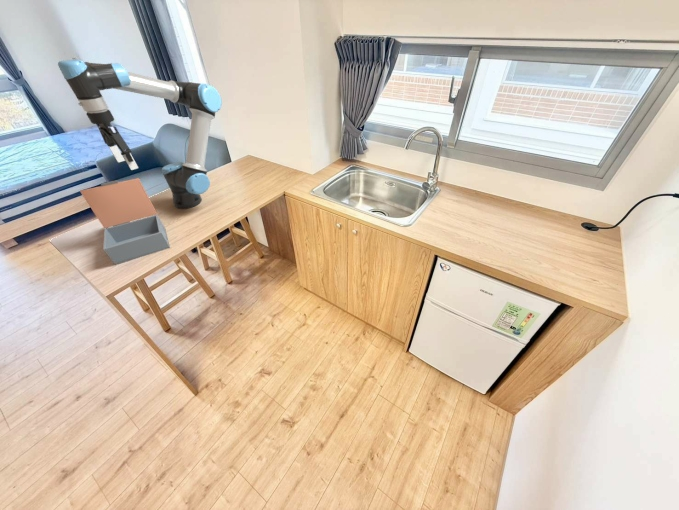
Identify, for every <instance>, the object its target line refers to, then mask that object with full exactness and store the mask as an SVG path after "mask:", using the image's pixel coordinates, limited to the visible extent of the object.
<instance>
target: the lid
mask: <svg viewBox="0 0 679 510" xmlns="http://www.w3.org/2000/svg"><path fill="white" fill-rule="evenodd" d="M79 192H80V193H81V195H82V197H83V198H84V200H85V202H86V203H87V205H88V206H89V207H90V208H91V210H92V212H93V214H94V215H95V216H96V218H97V219H98V221H99V223H100V224H101V226H102V227H103V228H104V229H106V228H109V227H113V226H115V225H119V224H123V223H126V222H132V221H135V220H139V219H143V218H147V217H150V216H154V215H158V213H157V210H156V209H155V206H154V205H153V203H152V201H151V199H150V197H149V195H148V193H147V191H146V190H145V188H144V186H143V184H142V182H141V179H140V178H133V179H129V180H124V181H123V180H122V181H118V180H112V181H107V182H103V183H100V186H96V187H90V188H86V189H81V190H80V191H79Z"/></svg>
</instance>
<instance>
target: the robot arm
mask: <svg viewBox="0 0 679 510" xmlns="http://www.w3.org/2000/svg"><path fill="white" fill-rule="evenodd" d="M57 66H58V68H59V70H60V72H61V74H62V76H63V78H64V80H65V81H66V83H67V84H68V85H69V88H70V89H71V91H72V92H73V94H74V95H75V98H76V99H77V101H78V103H77V105H78V106H81V107H82V109H83V111H84V112H86V116H87V118H88V119H89V121H90V123H92V124H93V125H96V126H97V128H98V130H99V133H100V135H101V138H102V139H103V141H104V144H105V145H106V146H107V147H108V148H109V149H110V151H111V153H112V154H113V157H114V158H115V159H116V162H117V163H121V162H126V164H127V165H128V167H129V169H130V170H131V171H133V170H137V169H139V166H138V164H137V162H136V161H135V159H134V157H133V156H132V150H131V149H130V147H129V146H128V144H127V143H126V141H125V139H124V137H123V136H122V134H120V132H119V130H118V129H117V127H116V126H115V125H114V126H113V125H112V124H111V123H113V122H114V121H115V118H114V116H113V114H112V111H111V110H110V109H109V106H108V104H107V102H106V100H105V98H104V97H103V94H102V93H101V91H104V90H112V89H114V90H118V91H119V90H120V91H124V92H130V93H134V94H140V95H145V96H149V97H155V98H160V99H165V100H169V101H170V102H171V103H174V104H179V105H183V106H186V107H188V108H189V111H190V113H191V122H190V130H189V136H188V137H189V138H188V143H187V144H188V145H187V152H186V153H187V154H186V159H185V162H182V161H181V162H180V161H179V162H178V161H177V162H173V163H169V164H166V165H164V166H163V167H162V168H161V172H162V175H163V177H164V179H165V181H166V183H167V185H168V188H169V189H170V191H171V194H172V195H171V196H172V203H173V206H174V207H175V208H176V209H181V210H182V209H183V210H186V209H190V208H194V207H196V206H198V205H199V204H201V203H202V201H203V199H202V196H201V195H203V194H204V193H206V192H207V191H208V190H209V189H210V187H211V186H210V185H211V179H209V176H208V175H207V174H208V169H206V167H205V164H206V158H207V150H208V146H209V145H208V144H209V143H208V142H209V135H210V129H211V124H212V123H211V122H212V120H213V119H215V117H216V113H217V112H219V111H220V110H221V108H222V104H223V103H222V97H221V95H220V93H219V91H218V90H217V89H216V88H215V86H212V85H210V84H206V83H198V82H197V83H196V82H192V81H190V82H189V81H175V80H168V81H166V80H163V79H158V78H154V77H149V76H147V75H146V76H145V75H143V74H142V75H141V74H137V73H134V72H129V71H127V69H126V68H125V66H123V65H122V64H121V63H118V62H114V63H113V62H110V63H99V62H98V63H95V62H89V61H83V60H82V59H65V60H61V61H60V60H59V61H58V63H57Z"/></svg>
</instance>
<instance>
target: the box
mask: <svg viewBox="0 0 679 510" xmlns="http://www.w3.org/2000/svg"><path fill="white" fill-rule="evenodd" d="M103 234H104V235H103V251H104V252H105V254H106V255H107V256H108V258H110V260H111V262H113V264H114V265H115V266H116V265H119V264H123V263H125V262H130V261H133V260H136V259H140V258H142V257H145V256H148V255H151V254H155V253H157V252H158V253H159V252H160V251H164V250H168V249H170V248H171V245H170V243H169V239H168V234H167V231H166V228H165V225H164V223H163V222H162V221H161V218H160V217H159V215H158V214H156V215H153V216H149V217H145V218H141V219H138V220H134V221H130V222H128V223H124V224H120V225H117V226H111V227H108V228H104V233H103Z"/></svg>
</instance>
